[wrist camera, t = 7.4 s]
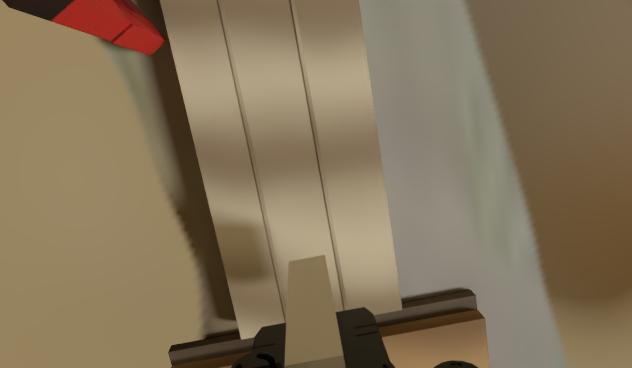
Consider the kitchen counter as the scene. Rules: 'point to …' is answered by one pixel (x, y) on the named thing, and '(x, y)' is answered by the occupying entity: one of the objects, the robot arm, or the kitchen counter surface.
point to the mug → (99, 20)
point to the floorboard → (396, 331)
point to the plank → (286, 148)
